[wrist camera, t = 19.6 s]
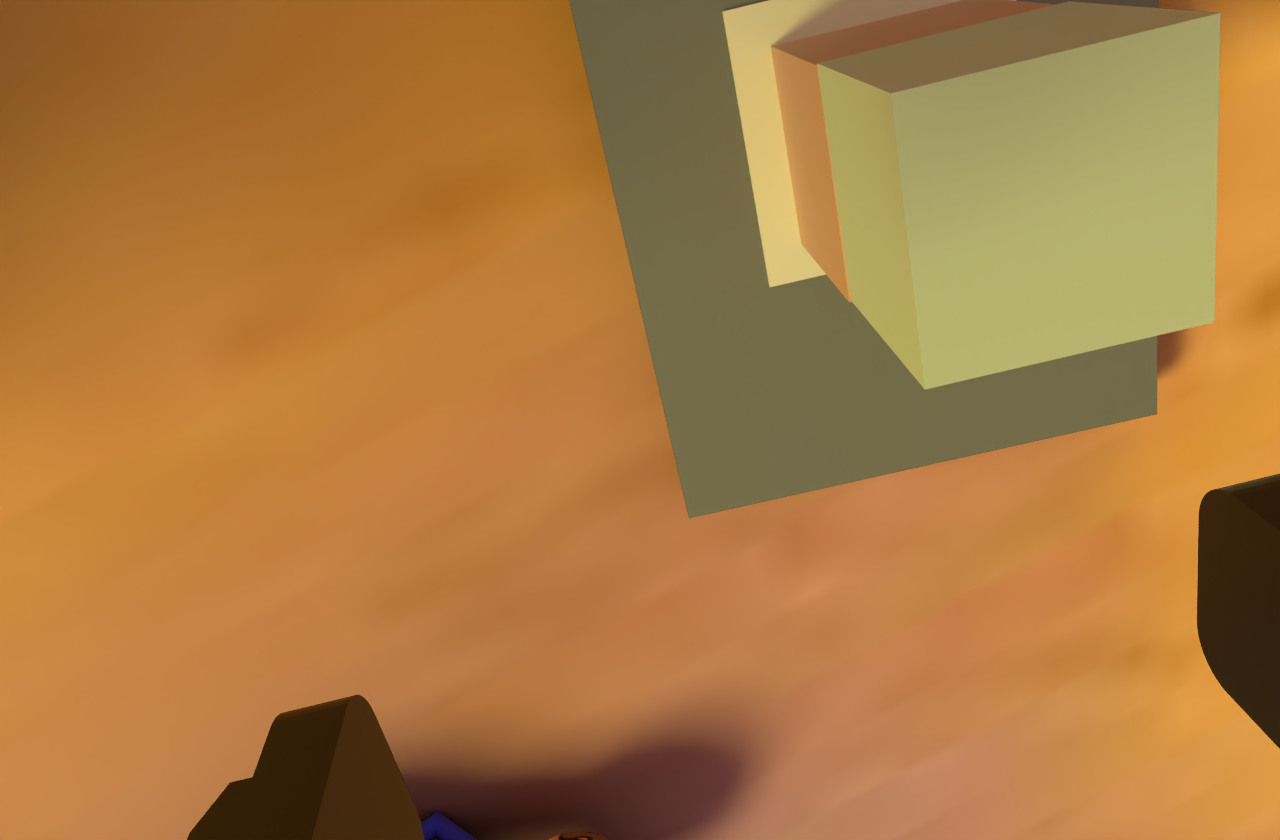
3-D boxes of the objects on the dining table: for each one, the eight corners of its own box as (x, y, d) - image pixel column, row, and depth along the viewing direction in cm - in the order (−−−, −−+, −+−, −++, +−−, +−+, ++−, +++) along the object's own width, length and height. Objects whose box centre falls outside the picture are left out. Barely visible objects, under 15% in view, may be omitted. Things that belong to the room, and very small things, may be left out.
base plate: (683, 492, 31) (689, 520, 30) (510, -257, 23) (506, -273, 21) (1129, 392, 31) (1158, 415, 29) (1120, -411, 22) (1161, -439, 21)
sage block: (850, 300, 22) (924, 389, 17) (816, 63, 20) (890, 93, 15) (1078, 246, 21) (1214, 322, 17) (1068, 0, 19) (1220, 13, 15)
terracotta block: (800, 243, 26) (849, 302, 22) (770, 46, 24) (816, 65, 20) (988, 200, 26) (1076, 249, 22) (974, -3, 24) (1068, 4, 19)
